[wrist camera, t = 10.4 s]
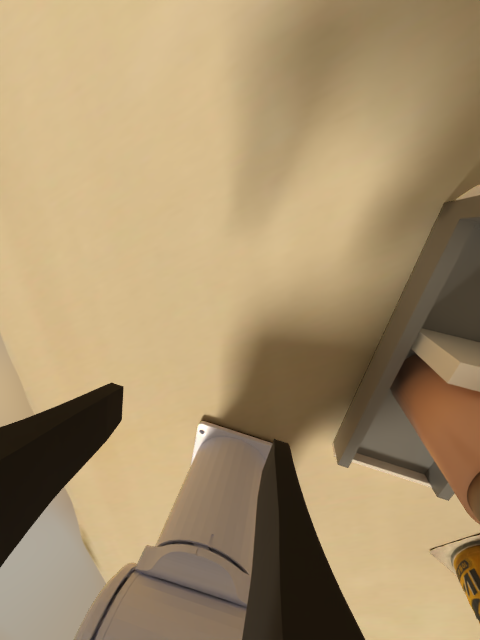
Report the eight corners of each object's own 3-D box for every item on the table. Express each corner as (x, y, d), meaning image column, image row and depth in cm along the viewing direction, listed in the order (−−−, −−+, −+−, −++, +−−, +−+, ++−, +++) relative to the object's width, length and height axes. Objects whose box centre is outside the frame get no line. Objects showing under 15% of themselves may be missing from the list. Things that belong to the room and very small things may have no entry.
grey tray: (430, 475, 20) (472, 548, 15) (332, 444, 21) (343, 504, 16) (605, 232, 13) (782, 229, 8) (444, 203, 14) (520, 185, 9)
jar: (446, 420, 18) (575, 574, 10) (378, 398, 18) (445, 526, 10) (488, 364, 16) (691, 495, 8) (410, 341, 16) (524, 442, 8)
